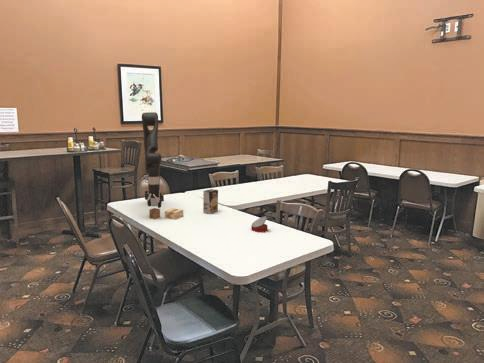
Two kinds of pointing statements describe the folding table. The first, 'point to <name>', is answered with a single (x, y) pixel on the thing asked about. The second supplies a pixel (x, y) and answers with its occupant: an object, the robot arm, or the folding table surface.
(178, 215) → the oak block
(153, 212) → the walnut block
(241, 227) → the folding table surface
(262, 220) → the canned food
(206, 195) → the coffee box
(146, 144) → the robot arm
